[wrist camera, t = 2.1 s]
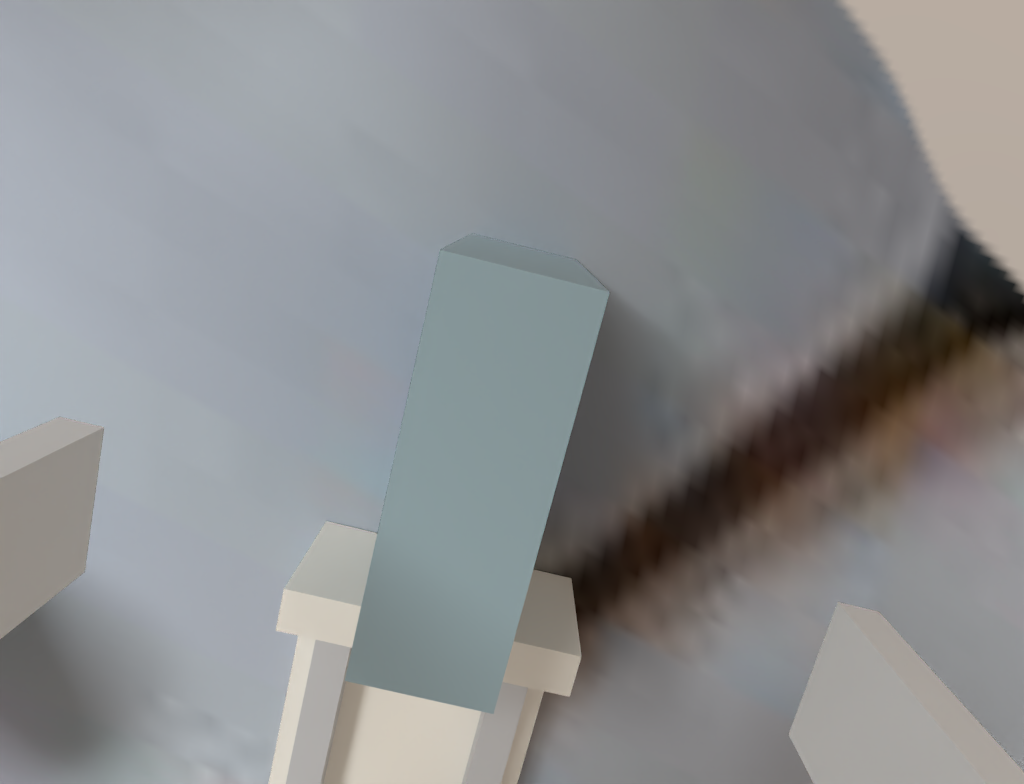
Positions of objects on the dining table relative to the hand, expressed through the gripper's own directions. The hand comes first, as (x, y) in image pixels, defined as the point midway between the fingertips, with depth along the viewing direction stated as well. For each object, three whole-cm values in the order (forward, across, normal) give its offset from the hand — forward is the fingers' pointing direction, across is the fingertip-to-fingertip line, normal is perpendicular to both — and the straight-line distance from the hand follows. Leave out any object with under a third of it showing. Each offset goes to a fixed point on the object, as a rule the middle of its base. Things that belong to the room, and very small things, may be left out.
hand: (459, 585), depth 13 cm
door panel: (+13, 0, 0) cm, 13 cm away
